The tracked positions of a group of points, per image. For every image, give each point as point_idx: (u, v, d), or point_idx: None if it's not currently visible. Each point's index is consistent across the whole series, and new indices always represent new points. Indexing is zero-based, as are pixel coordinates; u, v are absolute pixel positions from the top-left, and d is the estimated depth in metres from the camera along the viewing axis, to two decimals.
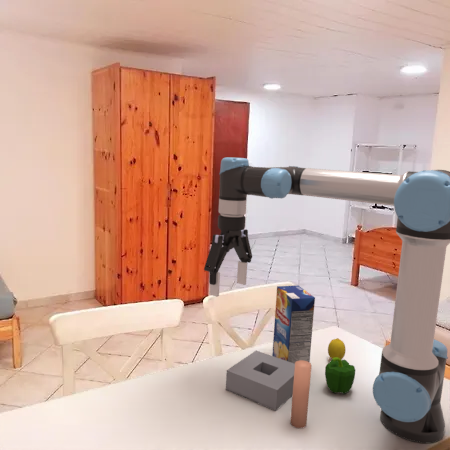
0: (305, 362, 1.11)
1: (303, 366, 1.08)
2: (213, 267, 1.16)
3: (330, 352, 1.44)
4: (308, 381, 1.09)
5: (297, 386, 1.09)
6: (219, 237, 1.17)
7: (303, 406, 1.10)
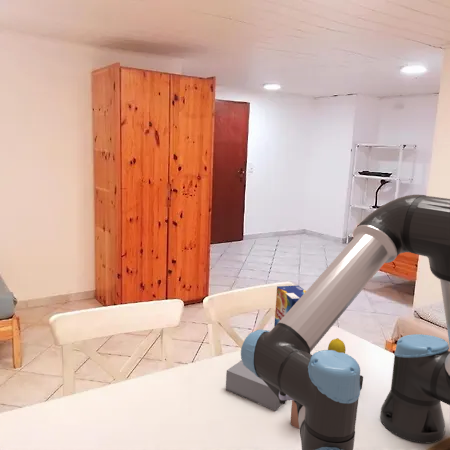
0: None
1: None
2: (359, 378, 0.90)
3: None
4: None
5: None
6: None
7: None
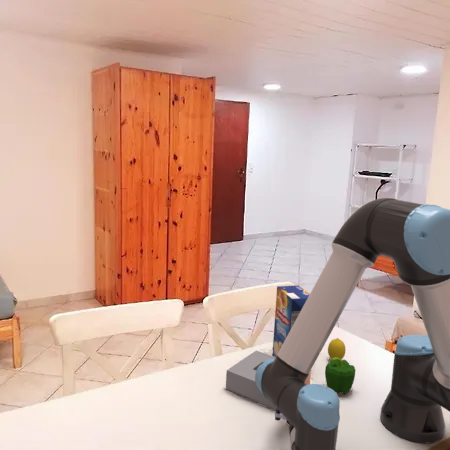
0: None
1: None
2: None
3: (330, 352, 1.44)
4: (308, 381, 1.09)
5: None
6: None
7: None
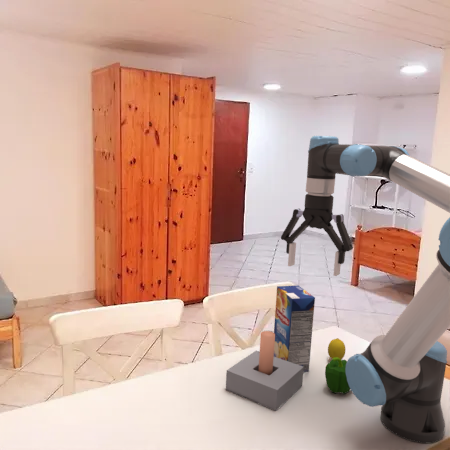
0: (270, 333, 1.26)
1: (267, 336, 1.24)
2: (283, 235, 1.28)
3: (329, 352, 1.44)
4: (272, 349, 1.24)
5: (262, 353, 1.25)
6: None
7: (267, 370, 1.25)
